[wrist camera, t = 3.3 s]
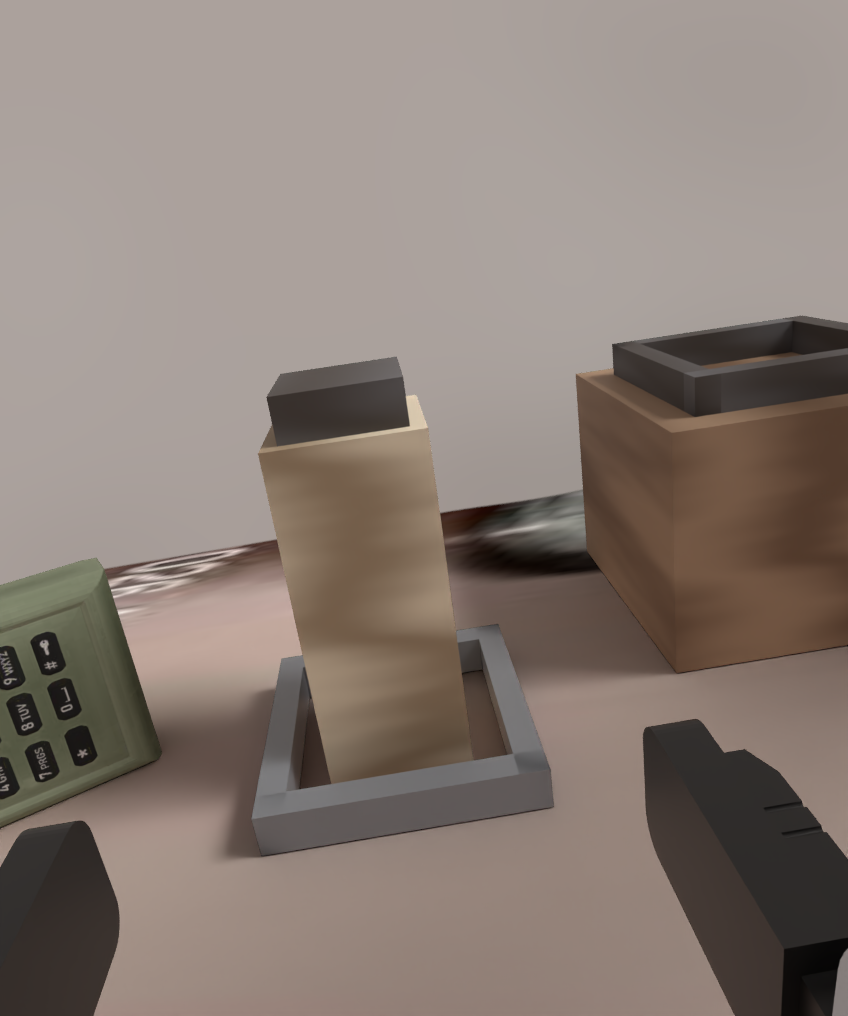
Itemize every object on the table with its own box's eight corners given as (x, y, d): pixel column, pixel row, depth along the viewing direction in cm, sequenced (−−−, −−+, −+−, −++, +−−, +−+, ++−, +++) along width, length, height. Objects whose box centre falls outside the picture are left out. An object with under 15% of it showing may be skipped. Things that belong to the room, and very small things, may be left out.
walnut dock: (804, 516, 33) (814, 308, 30) (977, 623, 24) (1017, 338, 21) (587, 551, 33) (573, 344, 30) (676, 673, 24) (670, 391, 21)
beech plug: (457, 691, 25) (410, 352, 21) (475, 772, 21) (421, 377, 17) (337, 710, 24) (267, 373, 21) (333, 795, 21) (246, 403, 17)
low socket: (501, 653, 26) (498, 624, 26) (554, 806, 19) (550, 769, 19) (288, 688, 26) (281, 658, 26) (261, 856, 19) (251, 819, 19)
